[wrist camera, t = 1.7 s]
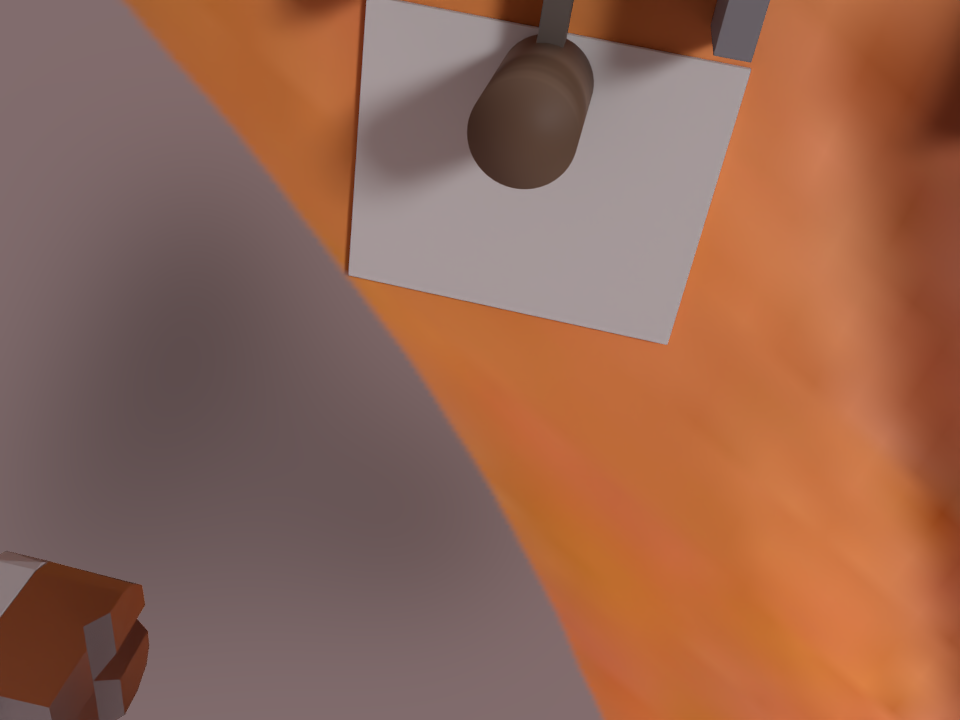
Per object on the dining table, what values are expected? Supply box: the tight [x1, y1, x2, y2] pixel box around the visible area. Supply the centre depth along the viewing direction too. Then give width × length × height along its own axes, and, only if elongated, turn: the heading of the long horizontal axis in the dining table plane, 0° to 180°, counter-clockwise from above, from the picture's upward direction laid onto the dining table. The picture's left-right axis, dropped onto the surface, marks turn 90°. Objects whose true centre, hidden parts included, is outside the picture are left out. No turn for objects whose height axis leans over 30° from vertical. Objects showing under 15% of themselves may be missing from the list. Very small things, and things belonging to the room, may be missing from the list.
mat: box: [348, 0, 751, 345], centre depth 31 cm, size 10×12×1 cm
